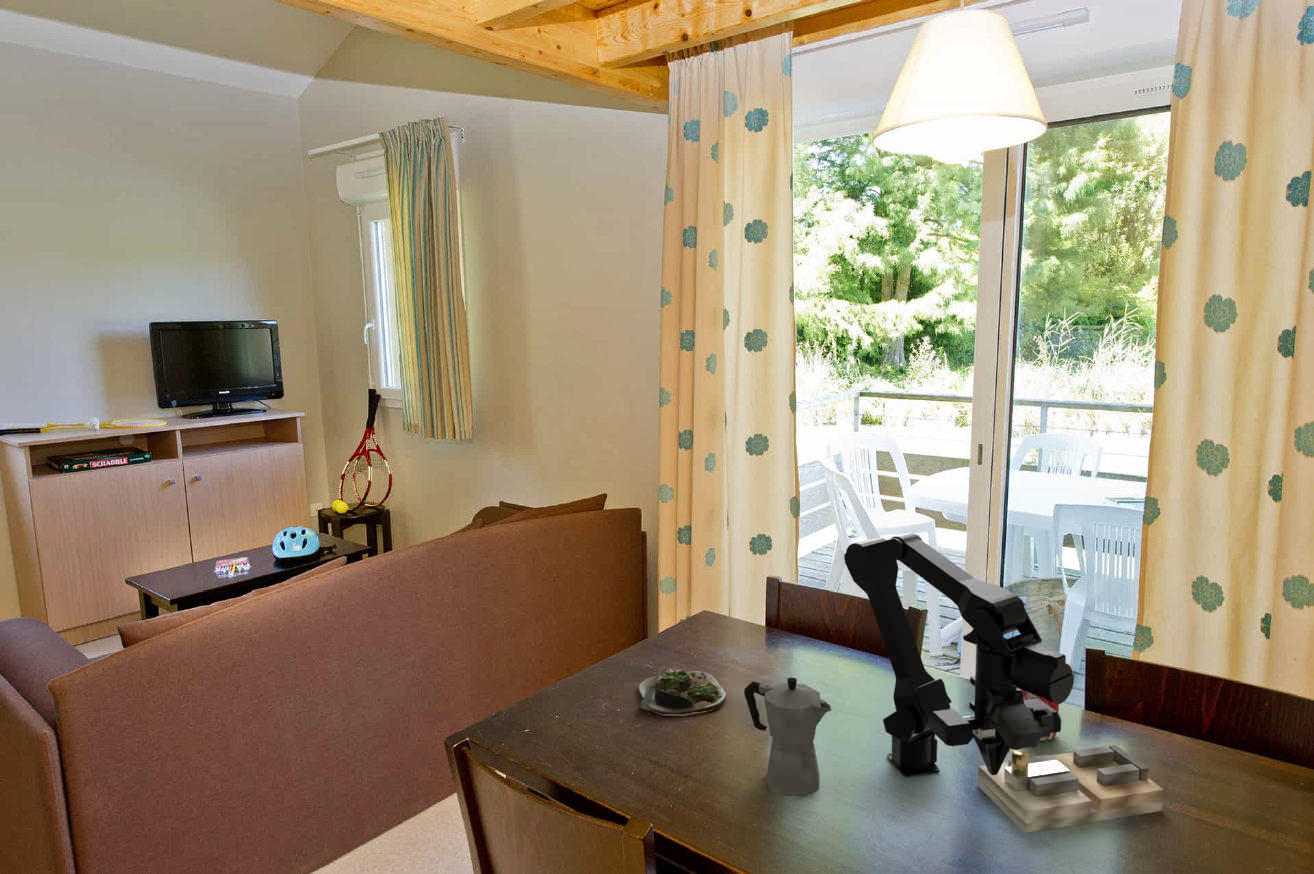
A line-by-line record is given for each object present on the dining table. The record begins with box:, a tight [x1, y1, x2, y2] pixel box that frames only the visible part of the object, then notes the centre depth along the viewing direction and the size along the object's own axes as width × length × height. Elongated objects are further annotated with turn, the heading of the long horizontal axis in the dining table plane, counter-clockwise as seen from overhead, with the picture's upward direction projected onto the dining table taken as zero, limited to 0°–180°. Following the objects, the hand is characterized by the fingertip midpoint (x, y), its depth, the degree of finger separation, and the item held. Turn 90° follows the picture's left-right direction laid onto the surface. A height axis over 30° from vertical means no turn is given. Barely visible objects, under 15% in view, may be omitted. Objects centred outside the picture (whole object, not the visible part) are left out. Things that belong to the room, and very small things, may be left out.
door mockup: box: [977, 744, 1165, 834], centre depth 122 cm, size 23×12×6 cm, turn 101°
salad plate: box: [638, 666, 727, 714], centre depth 161 cm, size 19×18×5 cm
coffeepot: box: [743, 677, 832, 797], centre depth 129 cm, size 15×9×18 cm, turn 54°
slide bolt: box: [1004, 748, 1070, 791], centre depth 121 cm, size 9×3×5 cm, turn 101°
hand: (992, 773), depth 120 cm, fingers closed
